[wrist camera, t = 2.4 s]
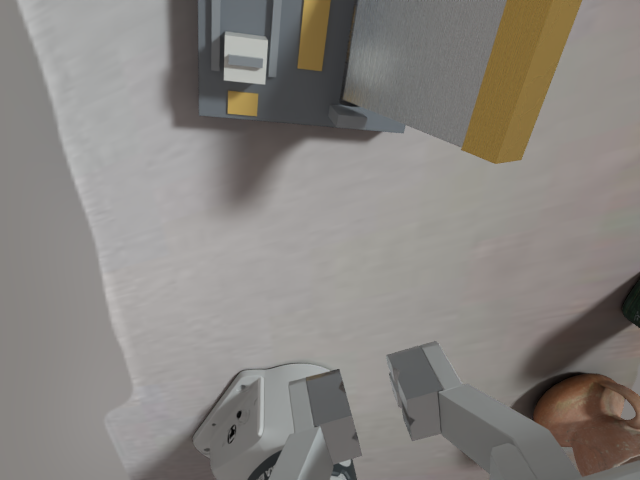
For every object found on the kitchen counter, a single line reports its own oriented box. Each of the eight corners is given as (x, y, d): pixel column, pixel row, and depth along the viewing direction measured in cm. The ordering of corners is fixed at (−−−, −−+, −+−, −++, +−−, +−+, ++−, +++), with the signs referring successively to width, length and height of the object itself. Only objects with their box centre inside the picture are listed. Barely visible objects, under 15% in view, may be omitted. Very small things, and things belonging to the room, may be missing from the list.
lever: (378, -39, 31) (594, -32, 20) (355, 101, 36) (518, 166, 25) (351, -46, 29) (567, -41, 19) (330, 101, 34) (493, 170, 24)
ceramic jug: (572, 429, 76) (637, 511, 64) (506, 429, 72) (562, 516, 60) (630, 355, 68) (717, 432, 56) (559, 349, 64) (637, 432, 52)
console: (433, -63, 34) (472, -73, 28) (393, 124, 41) (417, 145, 36) (200, -109, 30) (192, -131, 24) (201, 106, 37) (195, 127, 32)
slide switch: (265, 36, 33) (268, 41, 30) (262, 77, 34) (265, 85, 31) (225, 31, 32) (224, 35, 29) (224, 73, 33) (223, 81, 30)
